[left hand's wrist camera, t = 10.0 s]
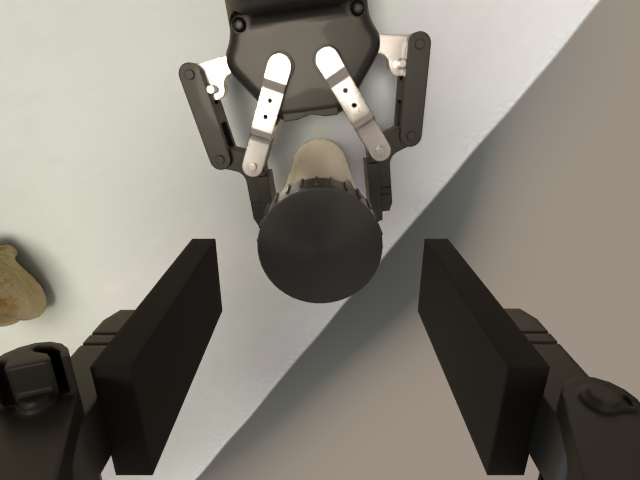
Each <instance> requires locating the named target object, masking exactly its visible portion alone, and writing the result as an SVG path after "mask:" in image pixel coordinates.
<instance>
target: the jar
mask: <svg viewBox="0 0 640 480" xmlns="http://www.w3.org/2000/svg"><path fill="white" fill-rule="evenodd" d="M315 176H318V178H330V177H333V179H335V180H339V181H341V182H344V181H346V182H347V184H348V185H350V186H351V187H353V188H355V189H356V187H355V184H354V181H353V178H352V175H351V172H350V169H349V166H348V163H347V160H346V157H345V154H344V153H343V151H342V149H341V148H340V147H339V146H338V145H337V144H335V143H334V142H332V141H330V140H326V139H314V140H310V141H308V142H306V143H305V144H303V145H302V146H301V147H300V148H299V149H298V151H297V153H296V155H295V157H294V160H293V163H292V166H291V169H290V172H289V175H288V178H287V181H286V184H285V187H284V189H286V188H287V185H288V184H290V185H292V184H294V183H296V182H299V181H300V179H302V178H303V180H305V179H309V178H315Z"/></svg>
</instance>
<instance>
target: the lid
mask: <svg viewBox="0 0 640 480" xmlns="http://www.w3.org/2000/svg"><path fill="white" fill-rule="evenodd" d="M264 215H265V216H263V218H262V220H261V223H260V225H259V228H260V231H259V235H258V238H257V242H258V255H259V260H260V263H261V266H262V268H263V270H264V272H265V273H266V275H267V276H268V278H269V279H270V280H271V282H272V283H273V284H274V285H275V286H276V287H277V288H279V289H280V290H281V291H283V292H284V293H285V294H287V295H289V296H291V297H293V298H295V299H298V300H301V301H305V302H311V303H330V302H335V301H339V300H342V299H345V298H347V297H349V296H351V295H353V294H354V293H356V292H358V291H359V290H360V289H361V288H363V287H364V286H365V285H366V284H367V283H368V282H369V281H370V279H371V278H372V276H373V275H374V274H375V272H376V270H377V268H378V265H379V263H380V260H381V255H382V249H383V247H382V246H383V245H382V235H383V234H382V231H381V228H380V226H379V223H378V222H379V219H378V217H377V215H376V212H375V210H372V207H371V204H370V202H369V200H368V198H367V199H365V198H364V197H363V195H362V194H361V193H360V191H359V189H358V188H357V189H355V188H353V187H351V186H350V185H348V184H347V182H346V181H344V182H341V181H339V180H335V179H333V177H330V178H318V176H315V178H309V179H305V180H303V178H302V179H300V181H299V182H296V183H294V184H292V185H290V184H288V185H287V188H286V189H284V190H283V191H282V192H281V193H280V194H279V193H277V194H276V196H275V198H274V200H273V201H272V203H271V204H268V206H267V208H266V211H265V213H264Z"/></svg>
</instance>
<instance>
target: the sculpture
mask: <svg viewBox="0 0 640 480" xmlns="http://www.w3.org/2000/svg"><path fill="white" fill-rule="evenodd" d="M17 255H18V252H17V250H16V249H15V248H14V247H13V246H11V245H0V327H2V326H8V325H11V324H14V323H17V322H18V321H19V320H30V319H33V318H36V317H39V316H40V315H41V314H42V313H43V312H44V310H45V308H46V296H45V293H44V291H43V289H42V287H41V286H40V284H39V283H38V282H37V281H36V280H35V279H34V278H33V277H32V275H30V274H29V273H28V272H27V271H26V270H25V269H23V268H22V267H21V266H20V265H19V264H18V263H17V262H16V260H15V257H16V256H17Z"/></svg>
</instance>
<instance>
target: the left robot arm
mask: <svg viewBox="0 0 640 480" xmlns="http://www.w3.org/2000/svg"><path fill="white" fill-rule="evenodd" d="M221 312H222V303H221V293H220V283H219V273H218V262H217V252H216V242H215V239H192V240H191V241H190V242H189V244H188V245H187V246H186V247H185V249H184V250H183V251H182V252H181V254H180V255H179V256H178V257H177V259H176V260H175V261H174V262H173V264H172V265H171V266H170V267H169V269H168V270H167V271H166V272H165V274H164V275H163V276H162V277H161V279H160V280H159V281H158V282H157V284H156V285H155V286H154V287H153V289H152V290H151V291H150V292H149V294H148V295H147V296H146V297H145V299H144V300H143V301H142V302H141V304H140V305H139V306H138V307H137V309H136V310H120V311H118V312H117V313H115V314H113V315H112V316H110V317H108V318H107V319H105V320H104V321H103V322H102V323H101V324H100V325H99V326H98V327H97V328H96V329H95V330H94V332H93V333H92V335H90V336H89V337H88V338H87V339H86V341H85V342H84V343H83V346H80V347H79V348H78V349H77V351H76V352H75V353H74V354H73V355H72V356H71V357H70V354H69V351H68V348H67V347H65V346H64V345H63V344H60V343H54V342H43V343H34V344H30V345H27V346H23V347H19V348H17V349H15V350H12V351H10V352H8V353H5V354H3V355H2V356H0V480H102V477H101V472H102V471H103V469H104V467H105V465H106V463H107V462H108V460H109V458H110V456H112V460H113V464H114V468H115V472H116V475H153V473H154V471H155V468H156V466H157V464H158V461H159V459H160V457H161V454H162V452H163V449H164V447H165V445H166V442H167V440H168V438H169V435H170V433H171V431H172V428H173V426H174V423H175V421H176V419H177V416H178V414H179V412H180V409H181V407H182V405H183V402H184V400H185V397H186V395H187V393H188V390H189V388H190V386H191V383H192V381H193V379H194V376H195V374H196V371H197V369H198V367H199V364H200V362H201V360H202V357H203V355H204V353H205V350H206V348H207V345H208V343H209V341H210V338H211V336H212V334H213V331H214V329H215V326H216V324H217V322H218V319H219V317H220V315H221ZM418 312H419V315H420V317H421V319H422V322H423V324H424V326H425V329H426V331H427V334H428V336H429V338H430V341H431V343H432V345H433V348H434V350H435V352H436V355H437V357H438V360H439V362H440V364H441V367H442V369H443V371H444V374H445V376H446V379H447V381H448V383H449V386H450V388H451V390H452V393H453V395H454V397H455V400H456V402H457V404H458V407H459V409H460V412H461V414H462V416H463V419H464V421H465V423H466V426H467V428H468V431H469V433H470V435H471V438H472V440H473V442H474V445H475V447H476V449H477V452H478V454H479V457H480V459H481V461H482V463H483V466H484V468H485V471H486V473H487V475H524V472H525V468H526V464H527V460H528V456H529V454H530V456H531V458H532V459H533V461H534V463H535V465H536V466H537V468H538V470H539V472H540V473H539V477H538V480H640V402H639V401H638V400H637V399H636V398H635V397H634V396H632V395H631V394H630V393H628V392H627V391H626V390H624V389H622V388H620V387H618V386H616V385H614V384H612V383H610V382H607V381H604V380H600V379H597V378H593V377H589V376H588V375H587V374H586V373H585V372H584V371H583V370H582V368H581V367H580V366H579V365H578V364H577V363H576V362H575V361H574V360H573V359H572V357H571V356H570V355H569V354H568V353H567V352H566V351H565V350H564V349H563V348H562V346H561V345H560V344H557V341H556V340H555V339H554V338H553V336H552V335H551V334H548V331H547V330H546V329H545V328H544V327H543V325H542V324H541V323H540V322H539V321H538V320H537V319H536V318H534V317H532V316H531V315H529V314H528V313H526V312H524V311H523V310H521V309H503V307H502V306H501V305H500V304H499V302H498V301H497V300H496V299H495V297H494V296H493V295H492V294H491V292H490V291H489V290H488V289H487V287H486V286H485V285H484V284H483V282H482V281H481V280H480V279H479V277H478V276H477V275H476V274H475V272H474V271H473V270H472V269H471V267H470V266H469V265H468V264H467V262H466V261H465V260H464V259H463V257H462V256H461V255H460V254H459V252H458V251H457V250H456V249H455V248H454V246H453V245H452V244H451V242H450V241H449V240H448V239H425V242H424V252H423V263H422V273H421V283H420V293H419V303H418Z"/></svg>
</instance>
